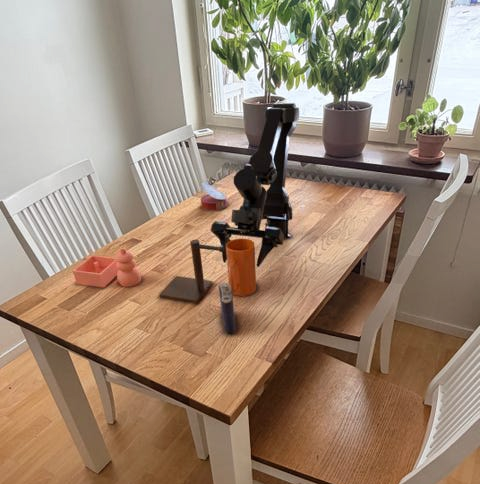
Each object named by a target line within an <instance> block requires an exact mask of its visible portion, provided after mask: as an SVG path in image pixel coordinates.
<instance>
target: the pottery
mask: <svg viewBox="0 0 480 484" xmlns="http://www.w3.org/2000/svg"><path fill="white" fill-rule="evenodd" d="M136 262H137V261H136V260H135V259H134V254H133V252H131V251H127V249H126V248H121V249H119V252H118V253H117V254H116V255H115V257H111V256H110V257H109V256H101V255H93V254H92V255H90V256H89V257H88V258H87V259H85V260H83V262H81V264H79V265H78V266H77V267H75V268H74V269H73V270H72V274H73V277H74V280H75V282H76V284H77V285H82V286H83V285H85V286H90V287H97V288H105V287H106V286H108V285H109V283H110V282H112V281H113V280H114V279H115V278H117V281H118V283H119V285H121V286H122V287H125V288H126V287H127V288H128V287H129V288H130V287H133V286H134V287H135V286H136V285H138V284H139V283H140V282H141V281H142V273H141V271H140V270H139V268H138V267H136V265H137V263H136Z"/></svg>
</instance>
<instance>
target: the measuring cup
mask: <svg viewBox="0 0 480 484" xmlns="http://www.w3.org/2000/svg"><path fill="white" fill-rule="evenodd" d="M230 240H231V241H229V242H228V243H227V244H226V254H227V260H226V266H227V276H228V285H230V288H231V291H232V295H233V296H234V295H235V296H239V297H243V296H249V295H252V294H253V293H255V292H256V290H257V276H256V275H257V272H256V250H255V249H256V248H255V247H256V245H255V242H254V241H253V240H252V239H249V238H234V239H230Z"/></svg>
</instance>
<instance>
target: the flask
mask: <svg viewBox="0 0 480 484" xmlns="http://www.w3.org/2000/svg"><path fill="white" fill-rule="evenodd" d="M218 290H219V291H218V292H219V301H220V311H221V318H222V323H223V325H224V333H225V334H227V335H228V336H230V335H234V334H235V333H236V331H237V329H236V328H237V326H236V319H235V309H234V307H235V306H234V294H232V291H231V288H230V285H229V283H227V282H220V283H219V284H218Z"/></svg>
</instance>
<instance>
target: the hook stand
mask: <svg viewBox="0 0 480 484" xmlns="http://www.w3.org/2000/svg"><path fill="white" fill-rule="evenodd" d="M190 250H191V259H192V266H193V272H194V278H193V277H186V276H180V275H175V276H174V277H173V279H172V280H171V281H170V282H169V283H168V284H167V285H166V286H165V287H164V289H162V290H161V292H160V293H158V295H159V298H160V299H167V300H172V301H173V300H174V301H178V302H186V303H191V304H198V303H199V302H200V300H201V299H202V298H203V297H204V296H205V294H206V292H207V291H208V290H209V289H210V287H211V286H212V285H213V282H212V280H208V279H207V280H206V279H205V278H204V270H203V261H202V253H201V250H210V251H216V252H217V251H218V252H219V253H222V252H223V251H224V247H223V246H221V245H219V246H216V245H210V244H209V245H208V244H200V240H199V239H191V240H190Z"/></svg>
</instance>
